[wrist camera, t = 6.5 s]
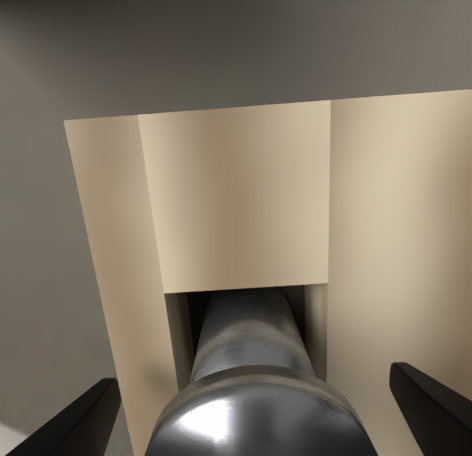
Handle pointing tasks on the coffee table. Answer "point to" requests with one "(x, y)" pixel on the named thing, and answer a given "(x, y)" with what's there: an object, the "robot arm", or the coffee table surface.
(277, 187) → the plate
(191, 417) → the flared metal knob
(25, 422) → the coffee table surface
